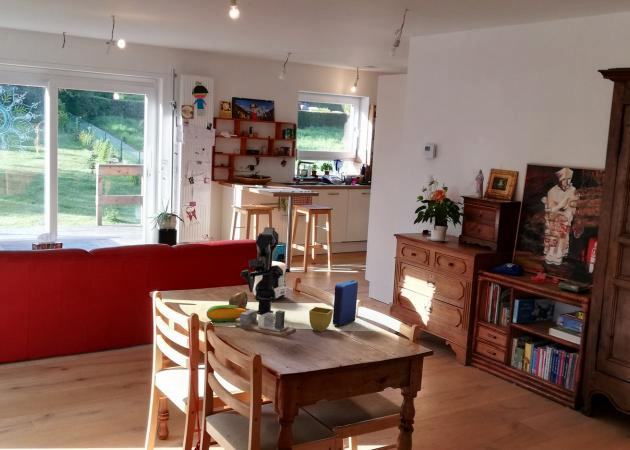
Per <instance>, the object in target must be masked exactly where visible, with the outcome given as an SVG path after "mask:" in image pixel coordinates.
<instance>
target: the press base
mask: <svg viewBox="0 0 630 450" xmlns="http://www.w3.org/2000/svg"><path fill="white" fill-rule="evenodd" d="M257 311H258V309H253V308H252V309H249V310H248V309H247V311H246V312H243V313H240V318H239V322H238V323H236V324H235V325H234V327H235V328H239V329H243V330H248V331H252V332H258V333H261V334H267V335H269V336H270V335H271V336H276V337H280V338H283V337H286V336H287V335H290V334H291V333H294V332H295V331H297V328H296V327H292V326H289V328H287V329H285V330H283V331H281V332H277V331H272V330H267V329H263V328H258V313H257Z"/></svg>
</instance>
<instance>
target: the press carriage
mask: <svg viewBox="0 0 630 450" xmlns="http://www.w3.org/2000/svg"><path fill="white" fill-rule="evenodd" d="M274 312H275V314H274ZM274 312H272V313H265V314H261V315H257V320H258V328H263V329H267V330H272V331H277V332H281V331H283V330H285V329H287V328H289V327H290V326H289V325H285V319H286V318H285V317H286V311H285V310H276V311H274ZM274 316H275V317H274Z"/></svg>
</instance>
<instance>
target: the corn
mask: <svg viewBox="0 0 630 450" xmlns="http://www.w3.org/2000/svg"><path fill="white" fill-rule="evenodd" d="M234 307H238V306H236V305H229V304H221V305H220V304H219V305H213V306H211V307H210V308H208V309H207V311H206V318H207V319H209V320H210V321H213V322H217V323H219V322H220V323H221V322H233V321H237V319H240V313H243V312H246V311H248V309H246V308H245V309H242V308H234Z"/></svg>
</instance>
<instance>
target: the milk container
mask: <svg viewBox="0 0 630 450" xmlns="http://www.w3.org/2000/svg"><path fill="white" fill-rule="evenodd" d="M275 265H278V266H279V267H280V268H281V269H282V270H283V276H280V278H278V279H277V281H276V282H275V283H274V285H273V289H274V291H275V300H280V299H283V298H285V296H286V293H287V284H286V269H287V268H286V264H285V263H284V262H281V261H275V260H273V261H272V266H275ZM254 272H256V270H254ZM254 280H255V283H254V287H253V291H252V293H253V295H254V297H256V288H258V283H259V281H261V280H262V275H260V276H255V279H254ZM271 298H272V297H271Z"/></svg>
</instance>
